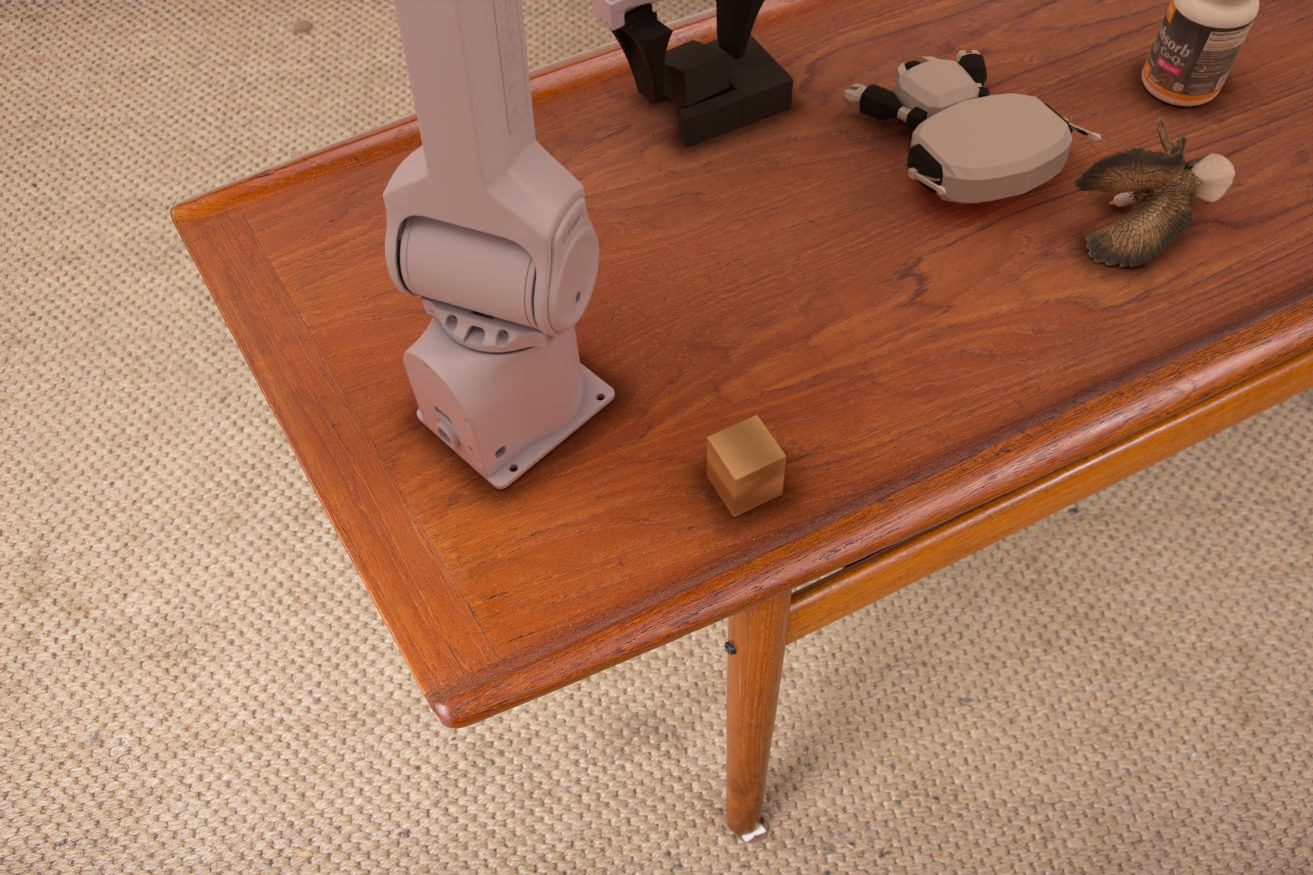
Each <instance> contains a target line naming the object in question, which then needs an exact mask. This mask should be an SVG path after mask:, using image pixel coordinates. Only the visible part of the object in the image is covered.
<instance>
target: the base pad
mask: <svg viewBox="0 0 1313 875" xmlns="http://www.w3.org/2000/svg"><path fill="white" fill-rule="evenodd" d="M704 44H705V45H707V46H710V47H713V48H715V49H718V50H720V51H723V52H725V51H724V50H722V49H721V48H719V44H718V38H716V39H714V40H711V41H708V42H705V43H704ZM725 53H726V52H725ZM727 54H728V53H727ZM728 69H729V83H730V88H728V89H725V90H723V91H721V92H719V93H717V94H714V97H711V98H709V99H705V100H702V101H699V102H697V103H694V104H692V105H690V106H686V107H684V108H682V109H679V110H677V122H678V124H677V125H678V127H677V128H678V140H679V141H680V143H681V144H682V145H683V147H684V148H688V147H691V146H694V145H696V144H698V143H702V142H704V141H707V140H710V139H712V138H715V137H718V136H720V135H723V134H726V133H728V132H730V131H733V130H736V129H739V128H742V127H744V126H747V125H749V124H752V123H755V122H756V121H759V120H764V119H765V118H768V117H771V116H773V115H776V114H778V113H781V112H784V111H787V110H789V109H791V108H792V99H793V89H794V78H793V77H792V76H791V75H790V74H789V73H788V72H787V70H785V69H784V68H783V66H781V64H780V63H779V62H777V60H776V59H775V58H774V57H773V56H772V55H771V53H769V52H768V51H767V50H766V49H765V48H764V47H763V46H762V45H761V43H760V42H758V41H757V39H756V38H755V37H754V36H753V35H752V34H750V37H749V40H748V43H747V46H746V49H745V52H744V55H743V57H741V58H739V59H738V60H736V59H735V58H733V57H732V56H731V55H729V54H728ZM664 97H666V96H664V95H663V98H664ZM645 100H646V101H647V102H648V103H652V102H651V101H649V100H648V99H647V98H645Z"/></svg>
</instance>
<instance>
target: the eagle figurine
mask: <svg viewBox="0 0 1313 875" xmlns="http://www.w3.org/2000/svg"><path fill="white" fill-rule="evenodd" d="M1156 132H1157V133H1158V137H1159V141H1160V144H1161V146H1162V148H1163V149H1164V152H1163V151H1152V150H1151V149H1148V150H1146V149H1144V147H1141V146H1138V147H1130V148H1129V149H1124V150H1122V151H1117V152H1115V153H1112V154H1109V155H1107V156H1103V157H1099V159H1098V160H1097V161H1095V162H1093V163H1091V164H1090V165H1089V167H1088V168H1086V169H1084V170H1082V172H1081V174H1080V175H1079V176H1078V177H1076V178H1075V179H1074V180H1073V182H1074V186H1075V187H1076V188H1077V191H1079V192H1081V191H1082V192H1102V193H1108V194H1116V195H1115V196H1114V197H1113V199H1112V200H1111V201H1110V202H1108V204H1109V206H1116V207H1118V208H1122V207H1126V206H1129V205H1132V204H1136V205H1135V206H1134V207H1133V208H1132V209H1131V210H1129V211H1127V213H1125V214H1124V215H1122V216H1120V217H1118V218H1117V219H1116V220H1115V221H1113V222H1112V223H1109V224H1108V225H1106V226H1104V227H1103V226H1102V227H1101V228H1099V229H1097V230H1095V231H1092V232H1091V233H1090V234H1087V235H1086V236H1085V241H1086V242H1087V243H1086V245H1085V249H1087V250H1088V251H1089V252H1088V257H1089V258H1090V259H1093V260H1094V262H1095V263H1097V264H1102V263H1105V265H1106V266H1110V267H1111V266H1116V265H1118V264H1119V267H1120V268H1126V267H1127V266H1129V267H1131V268H1135V267H1139V266H1141V265H1143V264H1147V263H1149V262H1151V260H1153V259H1156V258H1157V257H1158V256H1159V254H1160V253H1162V252H1163V251H1164V250H1166V249H1167V248H1168V246H1169V244H1171V243H1173V241H1174V240H1176V239H1177V238H1178V236H1182V235H1183V234H1185V233H1186V230H1187V229H1189V225H1190V224H1191V223H1192V216H1193V213H1192V212H1191V210H1192V206H1191V205H1190V204H1191V202H1192V199H1191V196H1192V197H1194V198H1197V199H1200V200H1202V201H1204V202H1208V203H1215V202H1218V200H1220V199H1221V198H1222V197H1223V196H1224V195H1225V193H1227V191H1228V190H1229V189H1230V188H1231V186H1232V185H1233V183H1234V178H1235V176H1236V171H1235V166H1234V165H1233V163H1232V162H1231V161H1230V160H1229V159H1228V158H1227V157H1225V156H1224V155H1223V154H1220V153H1219V154H1218V153H1216V152H1208V153H1205V154H1203V155H1201V156H1197V157H1195V158H1193V159H1191V160H1187V161H1186V160H1185V159H1186V157H1185V154H1184V151H1185V147H1186V145H1187V144H1186V143H1187V137H1186V136H1181V135H1180V137H1179V138H1178V139H1177V140H1176V141H1175V143H1173V142H1172V140H1171V137H1170V136H1169V134H1168V131H1167V125H1166V121H1165V119H1164V117H1163V116H1158V117H1157V120H1156Z"/></svg>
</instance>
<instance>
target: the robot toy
mask: <svg viewBox="0 0 1313 875" xmlns="http://www.w3.org/2000/svg"><path fill="white" fill-rule="evenodd" d="M966 50H967V49H959V51H958V52H957V53H956V56H955V60H952V59H943V58H942V59H941V58H940V59H939V58H937V57H936V56H920V60H919V61H918V60H909V61H907V62H902V63H901V64H899V65H898V66H897V67H896V73H895V74H896V75H895V81H894V82H895V84H894V91H892V90H890V89H888V88H885V87H883V86H880V85H877V84H875V83H873V84H869V85H868V86H866V85H865V84H862V83H854V84H851V85H850V86H848V88H846V89H845V90H844V92H843V98H844V100H845V101H846V102H848V103H849V104H851V105H858V106H859V113H860V114H863V115H865V116H867V117H870V118H871V119H874V120H877V121H878V122H879V121H889V120H894V119H898V120H901V121H903V122H904V123H905V126H906V129H907V130H910V131H912V134H911V141H910V147H909V148H908V151H907V152H908V153H907V159H906V160H907V161H906V167H907V174H908V176H907V177H908V178H910V180H911V179H912V180H913V181H914V180H915V181H917V183H919V184H920V186H922V187H923V188H924V189H926V190H927V191H928V192H929V193H930V194H935V195H936V196H937V197H939V199H940V200H942V201H946V202H952V203H956V204H963V205H969V204H970V205H972V204H981V203H988V202H989V203H990V202H993V201H998V200H1003V199H1007V198H1011V197H1012V198H1013V197H1016V196H1020V195H1023V194H1025V193H1027V192H1029V191H1032V190H1033V189H1035V188H1037V187H1039V186H1041V185H1043V184H1045V183H1047V182H1048V181H1050V180H1052V179H1053V178H1054V177H1055V176H1057V175H1058V174H1059V173H1060V172H1061V171H1062V170H1063V168H1064V167H1065V165H1066V164H1067V161H1068V157H1069V154H1070V151H1071V150H1070V149H1071V146H1072V143H1073V137H1072V136H1073V131H1074V132H1076V133H1079V134H1081V135H1083V136H1085V137H1088V138H1090V139H1091V140H1092V141H1094V142H1098V141H1102V137H1101V134H1100V133H1097V132H1092V131H1090V130H1088V129H1086V128H1083V127H1081V126H1078V125H1076V124H1074V123H1072V122H1070V121H1069V118H1066V117H1064V116H1062V115H1061V114H1060V113H1058V112H1057V111H1056V110H1055V109H1053V108H1052V106H1050V105H1049V104H1048V103H1047V102H1042V100H1040V99H1039V98H1038V97H1037V96H1035V95H1027V94H1022V93H1015V92H1014V93H1011V92H1010V93H1009V92H1008V93H1000V94H990V90H989V87H986V86H985V84H986V81H987V79H988V71H987V66H986V61H985V59H984V55H983V54H981V53H980V52H979V51H978V50H977V49H969V50H968V51H969V52H967V51H966Z"/></svg>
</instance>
